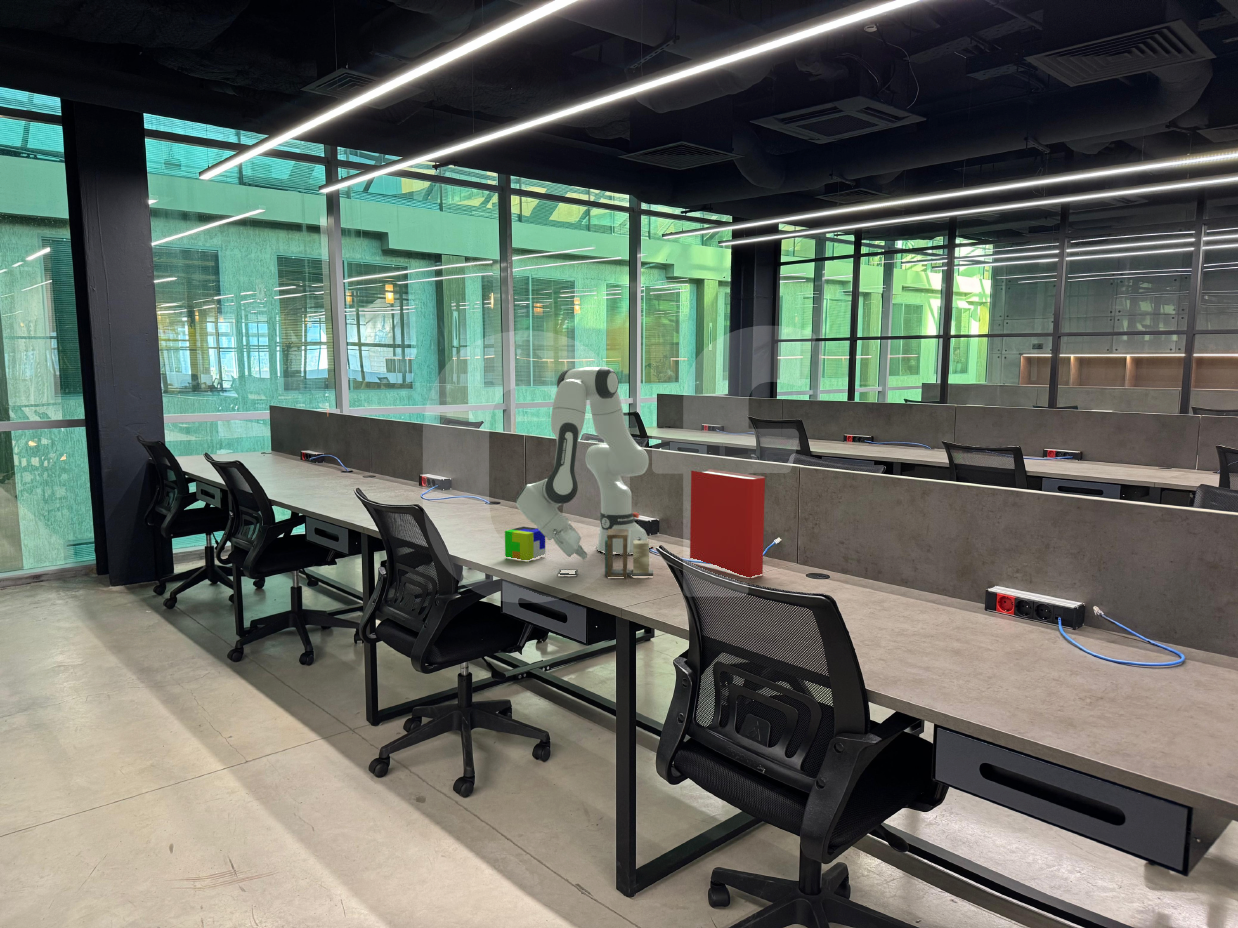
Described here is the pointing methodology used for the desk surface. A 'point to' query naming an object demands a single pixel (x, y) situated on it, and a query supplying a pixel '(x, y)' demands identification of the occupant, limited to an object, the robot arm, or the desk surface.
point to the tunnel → (612, 535)
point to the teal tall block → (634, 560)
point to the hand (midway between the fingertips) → (586, 557)
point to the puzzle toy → (524, 543)
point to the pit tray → (568, 573)
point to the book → (728, 520)
